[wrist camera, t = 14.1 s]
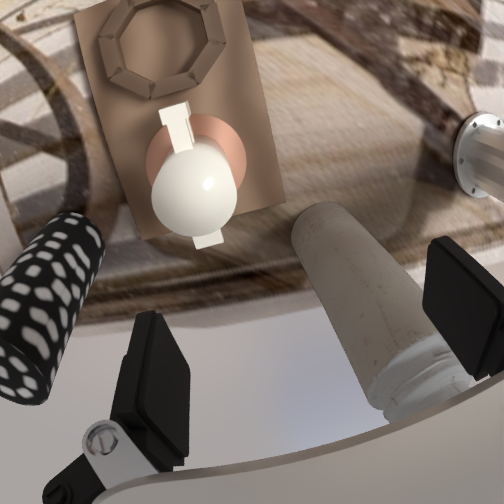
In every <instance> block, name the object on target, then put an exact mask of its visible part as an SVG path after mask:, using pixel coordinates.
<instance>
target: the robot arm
mask: <svg viewBox="0 0 504 504" xmlns="http://www.w3.org/2000/svg"><path fill="white" fill-rule="evenodd" d="M453 165H454V172H455V176H456V179H457V182H458V184H459V185H460V187H461V188H462V190H464V191H465V192H466V193H467V194H469V195H470V196H472V197H476V198H483V197H487V196H489V195H492V196H493V197H495V198H497V199H499V200H500V201H502V202H504V123H503V121H502V120H501V119H500V118H499V117H498V116H496V115H494V114H492V113H488V112H478V113H476V114H474V115H472V116H471V117H469V118H468V119H467V120H466V122H465V123H464V124H463V126H462V127H461V129H460V131H459V134H458V136H457V139H456V142H455V147H454V153H453ZM422 307H423V310H424V312H425V314H426V315H427V316H428V318H429V319H430V321H431V322H432V323H433V325H434V326H435V327H436V329H437V330H438V332H439V333H440V334H441V336H442V337H443V339H444V340H445V341H446V343H447V344H448V346H449V347H450V349H451V350H452V351H453V353H454V354H455V356H456V357H457V359H458V360H459V362H460V363H461V365H462V366H463V368H464V369H465V371H466V372H467V373H468V374H469V375H472V376H473V377H474V379H475V380H476V381H479V380H480V379H482V378H484V377H486V376H488V374H489V375H490V377H491V378H489V379H487V380H485V381H483V382H481V383H479V384H477V385H476V386H474V387H472V388H470V389H468V390H466V391H464V392H462V393H460V394H458V395H456V396H454V397H452V398H450V399H448V400H445V401H443V402H441V403H439V404H437V405H434V406H432V407H430V408H428V409H425V410H423V411H421V412H418V413H416V414H413V415H411V416H408V417H406V418H403V419H401V420H398V421H396V422H393V423H390V424H388V425H385V426H382V427H379V428H377V429H374V430H371V431H368V432H365V433H362V434H359V435H356V436H353V437H350V438H346V439H343V440H340V441H336V442H333V443H329V444H325V445H321V446H318V447H314V448H310V449H306V450H302V451H298V452H294V453H289V454H284V455H280V456H275V457H270V458H265V459H259V460H254V461H248V462H242V463H235V464H230V465H222V466H216V467H208V468H199V469H189V470H182V471H173V466H184V457H188V455H189V410H190V409H189V408H190V368H189V365H188V363H187V362H186V360H185V358H184V356H183V354H182V352H181V351H180V349H179V347H178V345H177V343H176V341H175V339H174V337H173V336H172V334H171V332H170V329H169V328H168V326H167V324H166V322H165V320H164V318H163V316H162V314H161V313H158V314H157V313H156V312H155V311H154V310H151V311H146V312H142V313H138V314H137V316H136V319H135V323H134V327H133V331H132V335H131V339H130V343H129V347H128V351H127V354H126V355H125V356H124V357H123V360H122V364H121V368H120V372H119V377H118V381H117V386H116V391H115V395H114V400H113V405H112V409H111V414H110V420H102V421H98V422H96V423H94V424H93V425H92V426H90V427H89V428H88V429H87V431H86V432H85V434H84V436H83V439H82V449H83V451H84V453H83V454H82V455H80V456H79V457H78V458H77V459H76V460H75V461H73V462H72V463H71V464H70V465H69V466H67V467H66V468H65V469H64V470H63V471H61V472H60V473H59V474H58V475H56V476H55V477H54V478H53V479H52V480H50V481H49V483H48V484H47V485H46V486H45V488H44V490H43V495H42V500H43V504H504V286H503V285H502V284H500V282H499V281H498V280H496V279H495V278H494V277H493V276H492V275H491V274H490V273H489V272H488V271H487V270H486V269H485V268H484V267H483V266H482V265H480V264H479V263H478V262H477V261H476V260H475V259H474V258H473V257H472V256H470V255H469V254H468V253H467V252H466V251H465V250H464V249H463V248H461V247H460V246H459V245H458V244H457V243H456V242H454V241H453V240H452V239H451V238H450V237H448V236H442V237H439V238H435V239H433V240H432V241H431V244H430V245H429V246H428V250H427V263H426V273H425V283H424V291H423V299H422Z"/></svg>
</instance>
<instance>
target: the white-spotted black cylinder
mask: <svg viewBox="0 0 504 504" xmlns="http://www.w3.org/2000/svg"><path fill="white" fill-rule="evenodd" d="M104 255H105V243H104V239H103V236H102V234H101V232H100V231H99V229H98V228H97V226H96V225H95V224H94V223H93V222H92V221H91V220H89V219H88V218H86V217H85V216H82V215H80V214H77V213H72V212H70V213H62V214H59V215H57V216H55V217H54V218H53V219H51V220H50V221H49V222H48V224H47V225H46V226H45V227H44V228H43V229H42V230H41V231H40V232H39V233H38V235H37V236H36V237H35V238H34V239H33V240H32V241H31V242H30V244H29V245H28V246H27V247H26V248H25V249H24V251H23V252H22V253H21V254H20V255H19V257H18V258H17V259H16V260H15V261H14V263H13V264H12V265H11V266H10V268H9V269H8V270H7V271H6V273H5V274H4V275H3V276H2V278H1V279H0V396H1V397H3V398H5V399H7V400H9V401H12V402H15V403H18V404H22V405H30V406H34V405H40V404H42V403H44V402H45V401H46V400H47V399H48V396H49V394H50V391H51V387H52V384H53V382H54V379H55V376H56V373H57V370H58V367H59V364H60V361H61V359H62V356H63V353H64V350H65V347H66V345H67V342H68V340H69V337H70V335H71V332H72V330H73V327H74V325H75V322H76V320H77V317H78V315H79V312H80V310H81V308H82V305H83V303H84V301H85V298H86V296H87V294H88V292H89V289H90V287H91V285H92V283H93V280H94V278H95V276H96V274H97V272H98V270H99V268H100V265H101V263H102V261H103V259H104Z"/></svg>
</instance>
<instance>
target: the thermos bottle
mask: <svg viewBox="0 0 504 504" xmlns="http://www.w3.org/2000/svg"><path fill="white" fill-rule="evenodd" d="M291 241H292V246H293V248H294V250H295V252H296V254H297V256H298V258H299V260H300V262H301V264H302V266H303V267H304V269H305V272H306V274H307V276H308V278H309V280H310V282H311V284H312V286H313V288H314V290H315V292H316V293H317V295H318V297H319V299H320V301H321V303H322V305H323V307H324V309H325V311H326V313H327V315H328V318H329V320H330V322H331V324H332V326H333V328H334V330H335V332H336V334H337V336H338V338H339V340H340V342H341V345H342V347H343V349H344V351H345V353H346V355H347V357H348V359H349V361H350V364H351V366H352V368H353V370H354V372H355V374H356V376H357V378H358V381H359V383H360V385H361V387H362V389H363V391H364V394H365V396H366V398H367V400H368V402H369V404H370V405H371V406H372V407H373V408H376V409H378V410H384V411H383V415H384V418H385V419H387V420H388V421H389V423H393V422H396V421H398V420H401V419H403V418H406V417H408V416H411V415H413V414H416V413H418V412H421V411H423V410H425V409H428V408H430V407H432V406H434V405H437V404H439V403H441V402H443V401H445V400H448V399H450V398H452V397H454V396H456V395H458V394H460V393H462V392H464V391H466V390H468V389H470V387H469V386H468V385H469V383H470V380H471V378H472V375H469V374H468V373H467V372H466V371H465V369H464V368H463V366H462V365H461V363H460V362H459V360H458V359H457V357H456V356H455V354H454V353H453V351H452V350H451V349H450V347H449V346H448V344H447V343H446V341H445V340H444V339H443V337H442V336H441V334H440V333H439V332H438V330H437V329H436V327H435V326H434V325H433V323H432V322H431V321H430V319H429V318H428V316H427V315H426V314H425V312H424V310H423V307H422V299H423V290H422V289H421V288H420V287H419V285H418V284H417V283H416V282H415V281H414V280H413V279H412V278H411V277H410V275H409V274H408V273H407V272H406V271H405V270H404V269H403V268H402V267H401V266H400V264H399V263H398V262H397V261H396V260H395V259H394V258H393V257H392V256H391V255H390V254H389V253H388V252H387V251H386V250H385V249H384V248H383V247H382V246H381V245H380V244H379V243H378V242H377V241H376V239H375V238H374V237H373V236H372V235H371V234H370V233H369V232H368V231H367V230H366V229H365V228H364V227H363V226H362V225H361V224H360V223H359V222H358V221H357V220H356V219H355V218H354V217H353V216H352V215H351V214H350V213H349V212H348V211H347V210H346V209H345V208H344V207H342V206H341V205H338V204H335V203H330V202H325V203H319V204H315V205H313V206H311V207H309V208H308V209H306V210H305V211H303V213H302V214H301V215H300V216H299V217H298V218H297V220H296V221H295V223H294V226H293V228H292V233H291Z"/></svg>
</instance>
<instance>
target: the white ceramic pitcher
mask: <svg viewBox="0 0 504 504" xmlns="http://www.w3.org/2000/svg"><path fill="white" fill-rule="evenodd" d="M158 111H159V114H160V118H161V121H162V125H166V124H167V127H168V131H169V134H170V138H171V141H172V145H173V147H172V148H171V150H170V151H169V153H168V155H167V157H166V159H165V161H164V163H163V165H162V167H161V169H160V171H159V173H158V175H157V177H156V179H155V182H154V184H153V188H152V194H151V199H152V206H153V209H154V212H155V214H156V216H157V217H158V219H159V220H160V221H161V223H162V224H163V225H164V226H165V227H167V228H168V229H169V230H171V231H173V232H175V233H177V234H180V235H183V236H189V237H192V238H193V241H194V244H195V247H196V249H200V248H204V247H208V246H212V245H215V244H219V243H223V242H224V239H223V235H222V231H221V227H222V226H224V225H225V224H226V223H227V221H228V220H229V219H230V217H231V216H232V214H233V212H234V209H235V206H236V202H237V190H236V186H235V182H234V179H233V176H232V173H231V169H230V166H229V163H228V160H227V157H226V154H225V151H224V149H223V148H222V146H221V145H220V144H219V143H218V142H217V141H216V140H214V139H213V138H211V137H209V136H205V135H198V134H196V135H193V131H192V128H191V124H190V120H189V117H190V115H191V110H190V107H189V103H188V100H187V101H183V102H180V103H176V104H173V105H170V106H166V107H164V108H162V109H160V110H158Z"/></svg>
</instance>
